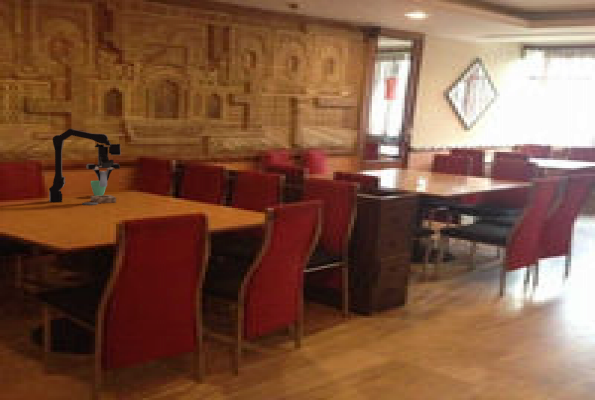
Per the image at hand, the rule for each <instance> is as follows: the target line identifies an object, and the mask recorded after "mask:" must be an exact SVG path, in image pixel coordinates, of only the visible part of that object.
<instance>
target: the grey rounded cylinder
mask: <svg viewBox="0 0 595 400" xmlns="http://www.w3.org/2000/svg"><path fill="white" fill-rule="evenodd" d="M99 174H100V187H106V188H107V187H108V181H107V170H101V171H99Z"/></svg>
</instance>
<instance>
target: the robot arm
mask: <svg viewBox="0 0 595 400" xmlns="http://www.w3.org/2000/svg"><path fill="white" fill-rule="evenodd" d="M72 136H73V137H77V138H82V139H88V140H92V141H94V142H95V143H96V142H97V143H96V144H95V145H94V148H97V164H95V163H87V164H86V165H85V166H86V167H85V168H86V169H87V170H92V171H94V172H95V174H96V177H97V179H98V180H97V181H100V174H99V171H100V169H106V171H107V182H108V181H109V178H110V176H111V173H112V171H114V170H117V169H120V168H121V165H120V164H119V163H114V159H109V154H110V155H111V156H121V155H122V153H121V151H122V149H121V143H116V144H115V143H111V142H110V140H109V136H108V135H107V134H106V133H91V132H88V131H83V130H78V129H74V128H68V129H67V130H66V131H64V132H62V133H61V134H55V135H54V136H53V137H52V145H53V148H54V178H53V181H52V185H51V186H50V187H49V189H48V190H49V191H48V192H49V194H48V195H49V196H48V198H49V200H48V202H50V203H62V202H63V193H62V191H61V190H62V188H64V186H65V184H66V183H67V182H66V176H63V175H64V174H63V148H64V143H65V140H68V138H70V137H72Z"/></svg>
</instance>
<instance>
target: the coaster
mask: <svg viewBox="0 0 595 400" xmlns="http://www.w3.org/2000/svg"><path fill="white" fill-rule="evenodd" d="M81 205H82V206H97V205H99V203H97V202H92V201H85V202H82V203H81Z"/></svg>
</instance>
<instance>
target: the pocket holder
mask: <svg viewBox="0 0 595 400" xmlns="http://www.w3.org/2000/svg"><path fill="white" fill-rule="evenodd" d="M92 201H93V202H97V203H98V204H110V203H113V204H114V203H115V204H116V203H117V197H116V196H114V195H111V194H109V195H108V194H106V195H105V194H104V195H102V196H94V195H90V202H92Z"/></svg>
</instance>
